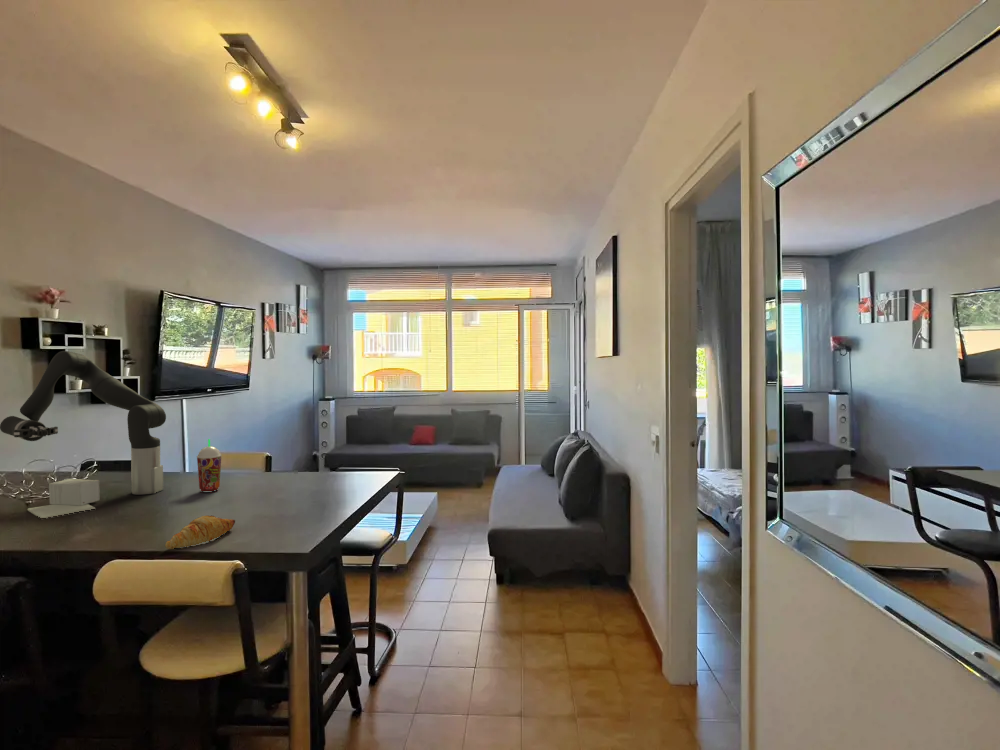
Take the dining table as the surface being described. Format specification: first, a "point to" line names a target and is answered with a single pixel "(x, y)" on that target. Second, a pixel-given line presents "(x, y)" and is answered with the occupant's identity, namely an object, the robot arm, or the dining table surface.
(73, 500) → the supplement box
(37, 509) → the topple mat
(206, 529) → the croissant
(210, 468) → the smoothie
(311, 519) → the dining table surface
